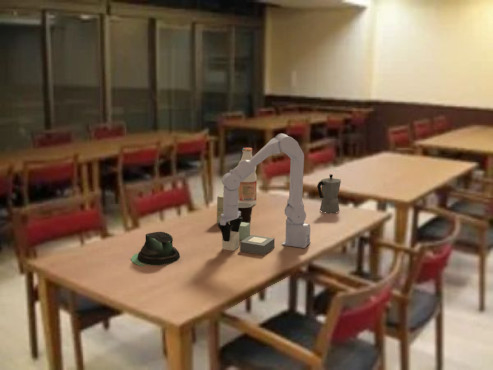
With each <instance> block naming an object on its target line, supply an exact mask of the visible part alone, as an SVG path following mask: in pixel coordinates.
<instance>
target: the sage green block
mask: <svg viewBox="0 0 493 370" xmlns="http://www.w3.org/2000/svg"><path fill="white" fill-rule="evenodd" d="M238 232H239V241H242V240H244V239H246V238H247V237H249V236H250V235H251V222H250V223H245V222H241V224H240V227H239V231H238Z"/></svg>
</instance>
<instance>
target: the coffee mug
mask: <svg viewBox="0 0 493 370" xmlns="http://www.w3.org/2000/svg"><path fill="white" fill-rule="evenodd" d="M253 206H254V205H252V204H250V203H238V211H241V216H239V217H242V218H243V220H242V222H245V223H250V224H251V221H252V213H253Z"/></svg>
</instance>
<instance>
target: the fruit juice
mask: <svg viewBox="0 0 493 370" xmlns="http://www.w3.org/2000/svg"><path fill="white" fill-rule="evenodd" d="M241 151H242V155H241V159H240V160H239V162H240V161H244V160H250V159H251V158H252V157H253V153H252V152H253V148H252V147H243V148H242V149H241ZM239 162H238V164H237V166H238V165H239V164H240V163H239ZM256 170H257V165H256V166H255V170H254V172H253V173H252V174H250V175H249V176H248V177H247V178H246V179H245V180H243V181H242V182H240V186H239V187H238V203H250V204H252V205H253V206H254V205H256V204H257V190H258V189H257V184H258V183H257V182H258V181H257V180H258V179H257V178H258V175H257V173H256Z"/></svg>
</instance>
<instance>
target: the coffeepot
mask: <svg viewBox="0 0 493 370" xmlns="http://www.w3.org/2000/svg"><path fill="white" fill-rule="evenodd" d="M333 175H334V174H329V178H323V179H321V180H320V181H318V183H317V187H316V188H317V191H318V195H319V198H320V199H321V203H320V208H319V210H321V211H322V212H321V211H320V212H321V213H323V212H326V213H325V214H330V213H332V214H337V213H336V212H338V211H339V212H340V206H339V204H340V203H339V198H338V195H339V191H340V187H341V184H342V183H341V182H342V181H341V179H339V178H334V176H333ZM339 212H338V213H339Z"/></svg>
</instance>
